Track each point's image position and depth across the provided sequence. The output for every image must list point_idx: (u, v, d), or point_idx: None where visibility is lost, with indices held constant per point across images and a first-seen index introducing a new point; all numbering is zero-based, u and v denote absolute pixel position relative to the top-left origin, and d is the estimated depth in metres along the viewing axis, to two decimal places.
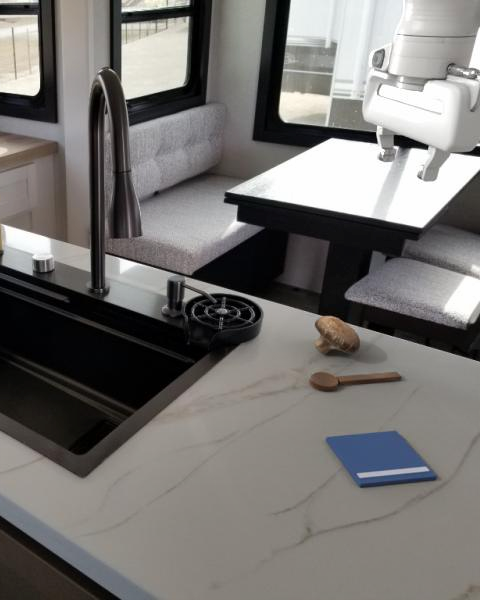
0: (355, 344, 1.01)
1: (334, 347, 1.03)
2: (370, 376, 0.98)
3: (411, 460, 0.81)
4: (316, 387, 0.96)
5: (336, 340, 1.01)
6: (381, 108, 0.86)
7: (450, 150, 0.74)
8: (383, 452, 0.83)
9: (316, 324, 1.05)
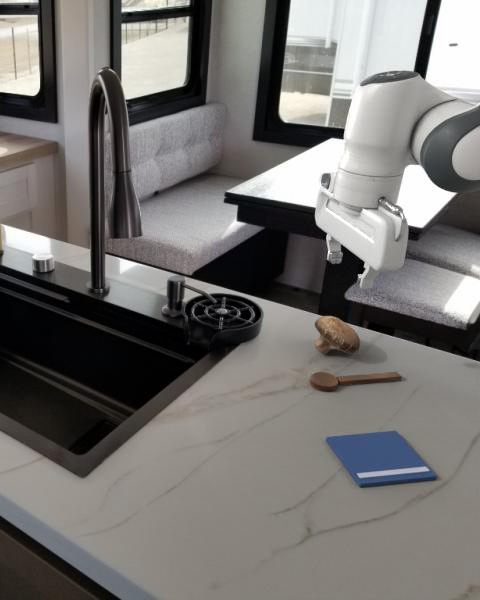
0: (355, 344, 1.01)
1: (334, 347, 1.03)
2: (370, 376, 0.98)
3: (411, 460, 0.81)
4: (316, 387, 0.96)
5: (336, 340, 1.01)
6: (329, 220, 1.01)
7: (380, 270, 0.89)
8: (383, 452, 0.83)
9: (316, 324, 1.05)
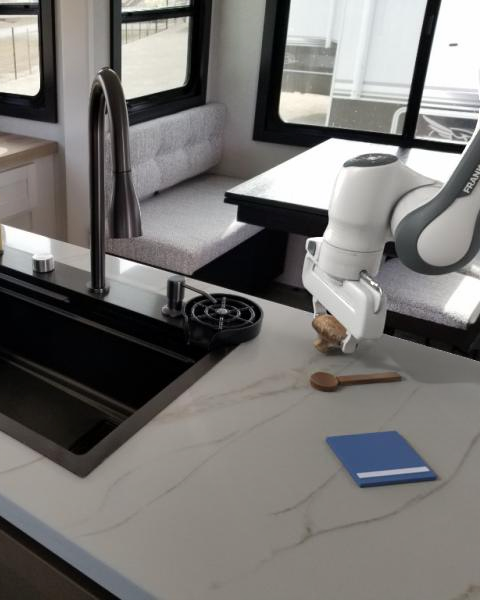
0: None
1: (332, 344, 1.03)
2: (370, 376, 0.98)
3: (411, 460, 0.81)
4: (316, 387, 0.96)
5: (333, 337, 1.01)
6: (315, 283, 1.06)
7: (360, 339, 0.94)
8: (383, 452, 0.83)
9: (313, 323, 1.05)
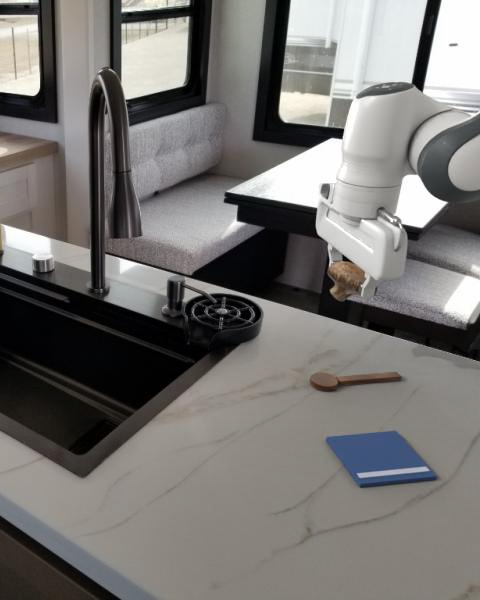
0: None
1: (350, 291, 0.98)
2: (370, 376, 0.98)
3: (411, 460, 0.81)
4: (316, 387, 0.96)
5: (351, 282, 0.97)
6: (329, 229, 1.01)
7: (380, 280, 0.89)
8: (383, 452, 0.83)
9: (328, 271, 1.00)
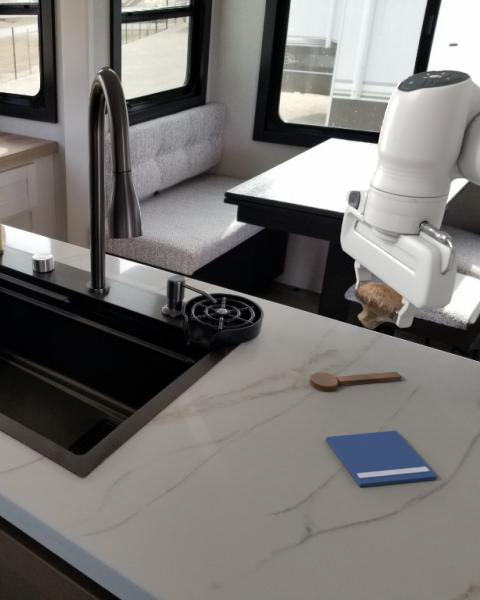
0: None
1: (382, 318, 0.84)
2: (370, 376, 0.98)
3: (411, 460, 0.81)
4: (316, 387, 0.96)
5: (384, 308, 0.82)
6: (358, 245, 0.87)
7: (422, 308, 0.75)
8: (383, 452, 0.83)
9: (356, 293, 0.86)
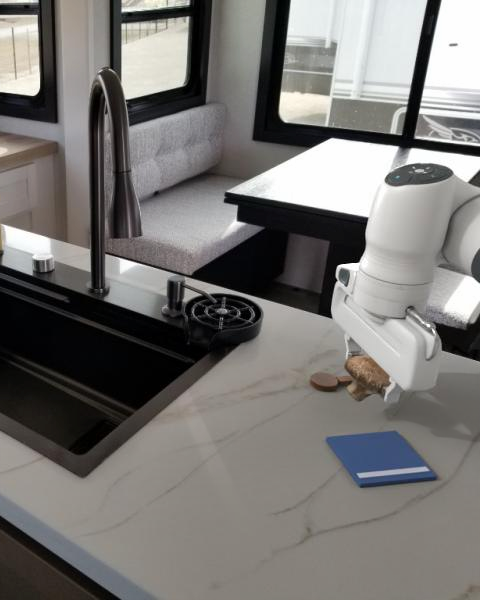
0: None
1: (371, 392, 0.87)
2: None
3: (411, 460, 0.81)
4: (316, 387, 0.96)
5: (372, 383, 0.85)
6: (347, 318, 0.90)
7: (408, 391, 0.78)
8: (383, 452, 0.83)
9: (346, 366, 0.89)
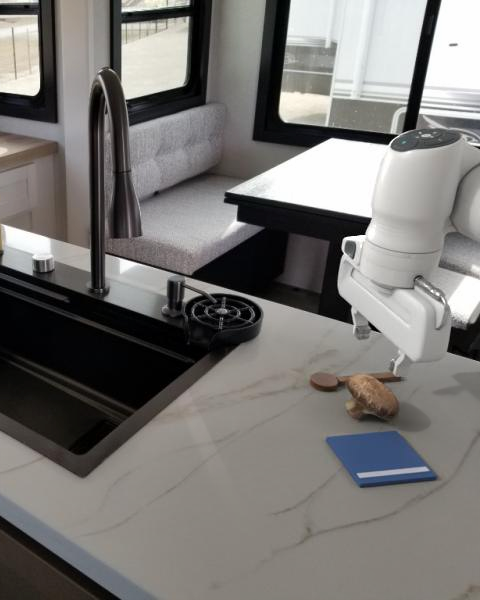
0: (394, 410, 0.86)
1: (369, 412, 0.88)
2: None
3: (411, 460, 0.81)
4: (316, 387, 0.96)
5: (372, 405, 0.86)
6: (354, 292, 0.88)
7: (418, 362, 0.76)
8: (383, 452, 0.83)
9: (347, 384, 0.89)
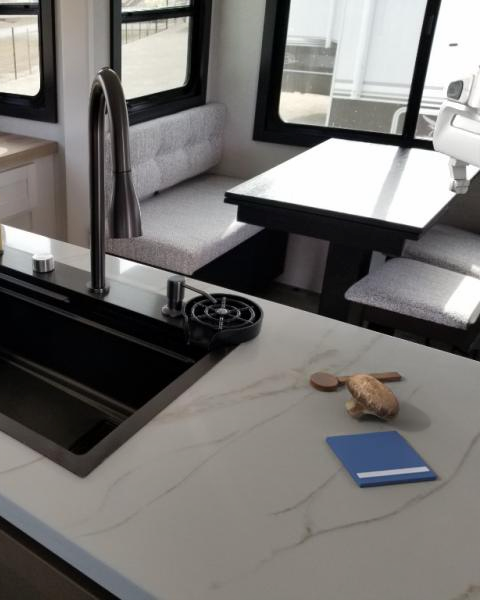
0: (394, 410, 0.86)
1: (369, 412, 0.88)
2: None
3: (411, 460, 0.81)
4: (316, 387, 0.96)
5: (372, 405, 0.86)
6: (455, 140, 0.84)
7: None
8: (383, 452, 0.83)
9: (347, 384, 0.89)
